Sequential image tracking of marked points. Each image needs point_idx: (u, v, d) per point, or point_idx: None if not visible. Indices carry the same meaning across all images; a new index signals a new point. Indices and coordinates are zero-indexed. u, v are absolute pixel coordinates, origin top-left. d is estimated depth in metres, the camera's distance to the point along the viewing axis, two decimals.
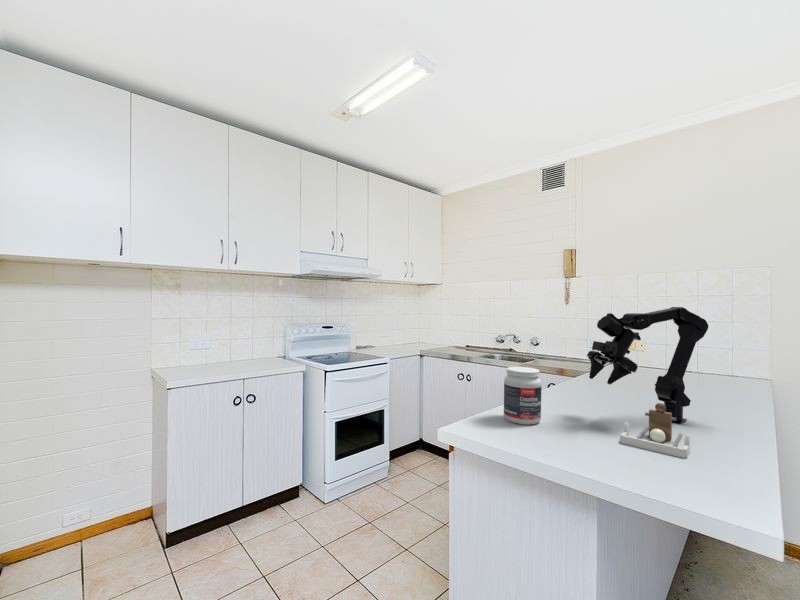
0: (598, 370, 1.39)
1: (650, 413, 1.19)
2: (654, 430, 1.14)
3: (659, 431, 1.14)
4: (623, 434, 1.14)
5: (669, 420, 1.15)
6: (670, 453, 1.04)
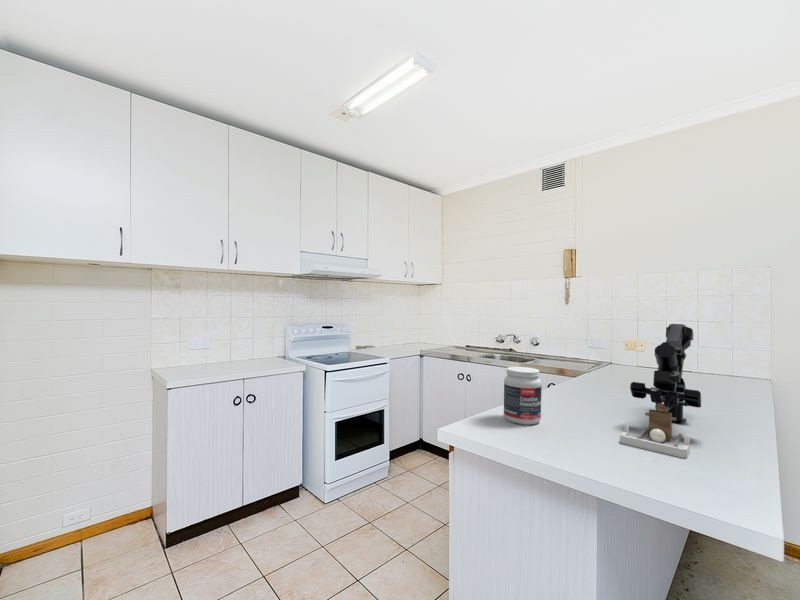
0: None
1: (650, 413, 1.19)
2: (654, 430, 1.14)
3: (659, 431, 1.14)
4: (623, 434, 1.14)
5: (669, 420, 1.15)
6: (670, 453, 1.04)
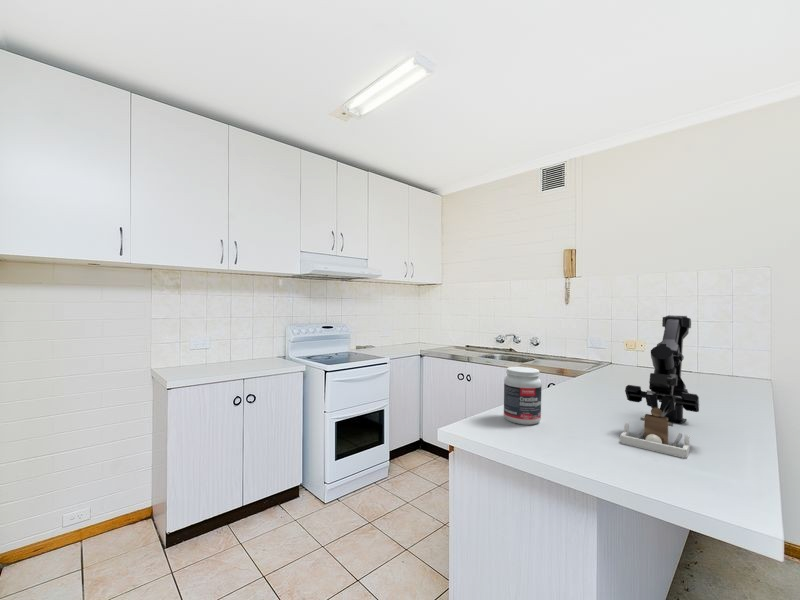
0: None
1: (646, 418, 1.13)
2: None
3: None
4: (623, 434, 1.14)
5: (665, 425, 1.10)
6: (670, 453, 1.04)
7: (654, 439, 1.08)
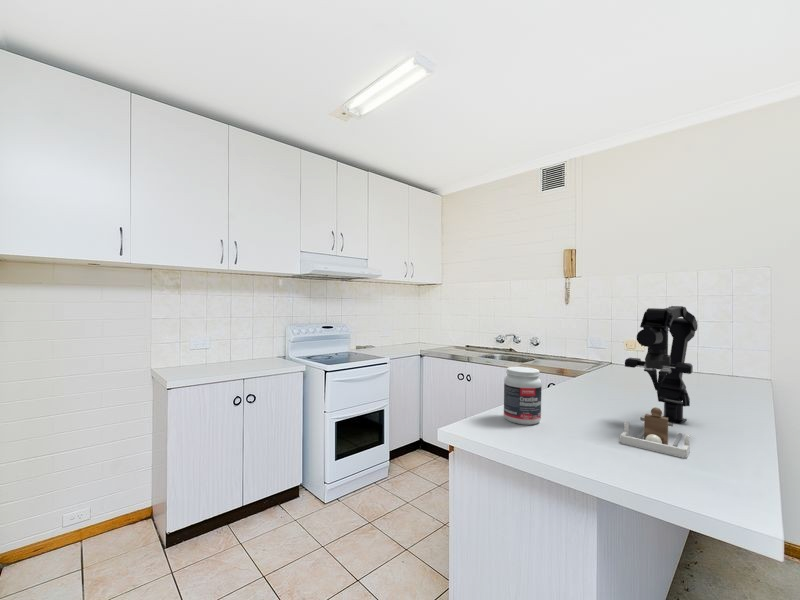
0: (656, 377, 1.31)
1: (646, 418, 1.13)
2: None
3: None
4: (623, 434, 1.14)
5: (665, 425, 1.10)
6: (670, 453, 1.04)
7: (654, 439, 1.08)
